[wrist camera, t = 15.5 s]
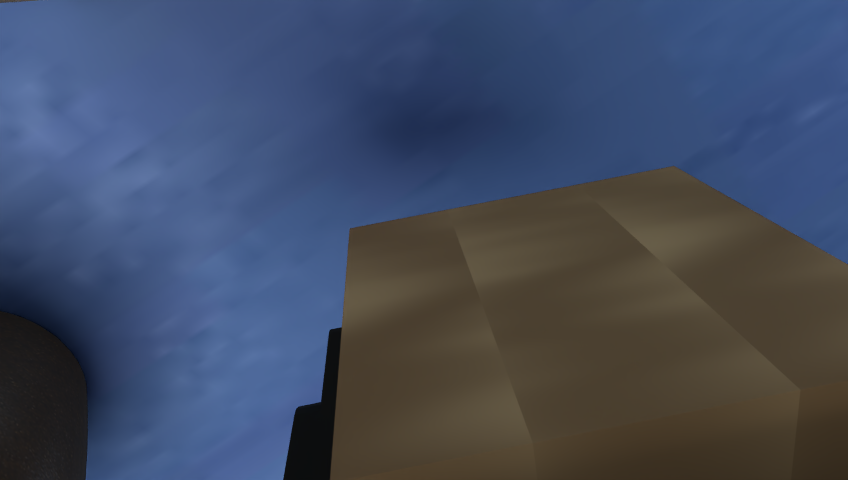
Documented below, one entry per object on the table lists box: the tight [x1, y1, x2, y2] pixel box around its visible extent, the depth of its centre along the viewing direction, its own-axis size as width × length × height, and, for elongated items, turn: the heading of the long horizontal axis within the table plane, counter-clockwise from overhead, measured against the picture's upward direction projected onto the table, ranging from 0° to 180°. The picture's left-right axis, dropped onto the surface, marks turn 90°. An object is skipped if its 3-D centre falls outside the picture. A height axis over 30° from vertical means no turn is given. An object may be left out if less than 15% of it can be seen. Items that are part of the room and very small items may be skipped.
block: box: [330, 166, 848, 480], centre depth 9 cm, size 6×6×6 cm
